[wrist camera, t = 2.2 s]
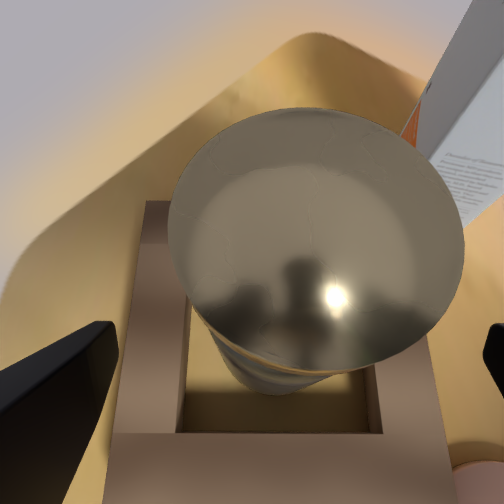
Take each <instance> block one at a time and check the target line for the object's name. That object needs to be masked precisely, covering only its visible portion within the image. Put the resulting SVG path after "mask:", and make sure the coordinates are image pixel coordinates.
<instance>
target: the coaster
mask: <svg viewBox="0 0 504 504" xmlns="http://www.w3.org/2000/svg"><path fill="white" fill-rule="evenodd" d="M452 473H453V478H454V483H455V488H456V493H457V499H458V504H504V462H498V461H474V462H468V463H465V464H462V465H459V466H456V467H454V468H453V469H452Z"/></svg>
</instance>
